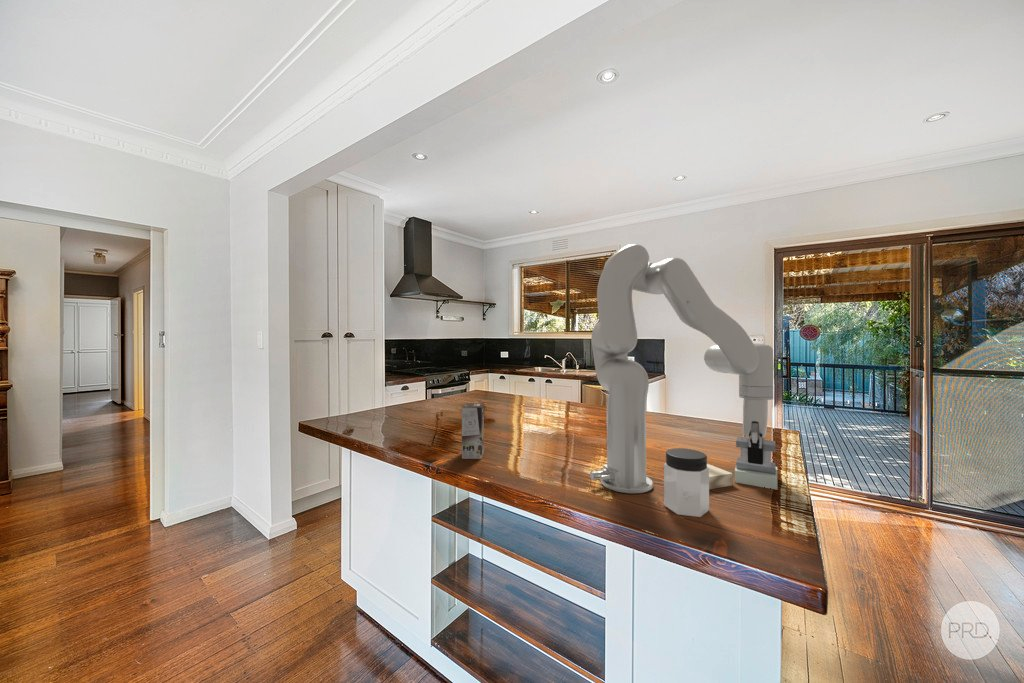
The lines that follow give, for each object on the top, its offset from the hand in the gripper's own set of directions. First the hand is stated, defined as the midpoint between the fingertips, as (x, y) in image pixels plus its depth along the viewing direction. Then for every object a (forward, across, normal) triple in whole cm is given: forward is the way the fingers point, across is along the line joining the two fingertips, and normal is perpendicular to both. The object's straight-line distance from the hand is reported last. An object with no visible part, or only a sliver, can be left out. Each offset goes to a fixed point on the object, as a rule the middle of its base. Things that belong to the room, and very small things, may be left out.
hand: (756, 458), depth 99 cm
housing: (+3, 0, 0) cm, 3 cm away
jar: (+6, +27, -12) cm, 30 cm away
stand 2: (+6, 0, 0) cm, 6 cm away
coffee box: (+6, +23, -76) cm, 80 cm away
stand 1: (+6, +8, -11) cm, 15 cm away
